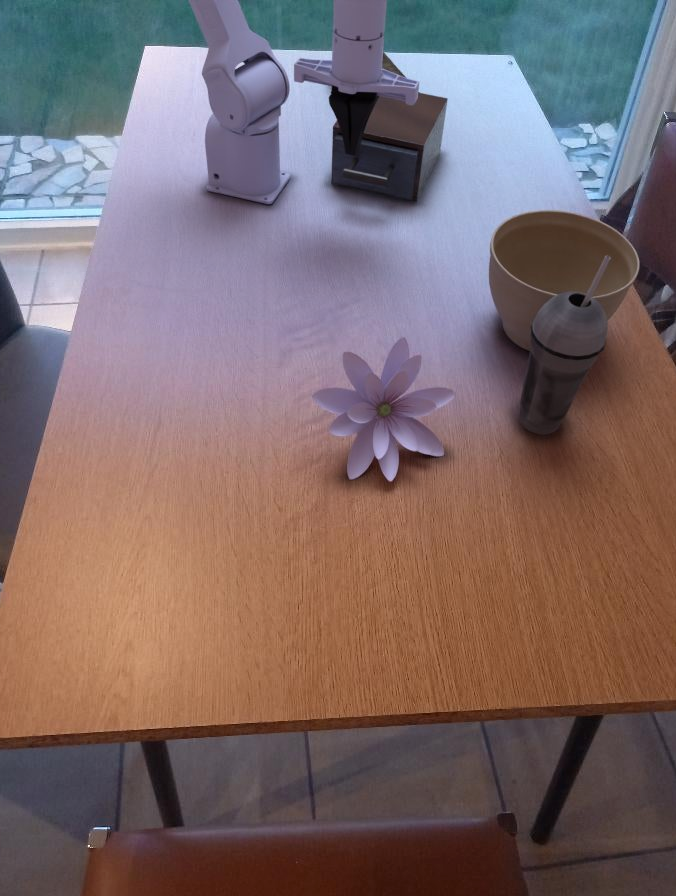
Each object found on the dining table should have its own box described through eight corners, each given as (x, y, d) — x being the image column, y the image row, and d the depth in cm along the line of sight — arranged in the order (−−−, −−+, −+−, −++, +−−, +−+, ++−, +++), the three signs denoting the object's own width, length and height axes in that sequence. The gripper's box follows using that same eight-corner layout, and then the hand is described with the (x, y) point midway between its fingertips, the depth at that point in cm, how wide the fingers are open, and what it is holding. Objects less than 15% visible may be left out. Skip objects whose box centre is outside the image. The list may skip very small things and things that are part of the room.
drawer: (402, 217, 104) (407, 172, 99) (322, 199, 105) (323, 154, 100) (433, 154, 115) (439, 110, 110) (360, 138, 116) (362, 95, 111)
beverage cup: (499, 395, 85) (545, 232, 69) (564, 395, 86) (623, 233, 70) (512, 444, 80) (564, 282, 65) (580, 443, 81) (647, 282, 65)
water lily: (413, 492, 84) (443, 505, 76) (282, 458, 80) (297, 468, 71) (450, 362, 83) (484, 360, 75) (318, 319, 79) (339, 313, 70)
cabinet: (416, 202, 108) (424, 145, 101) (331, 183, 109) (332, 126, 103) (440, 153, 117) (447, 98, 110) (360, 136, 118) (363, 81, 112)
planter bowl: (464, 288, 96) (480, 207, 88) (589, 289, 98) (617, 210, 89) (485, 376, 87) (505, 295, 78) (624, 376, 88) (658, 297, 80)
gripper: (283, 31, 83) (286, 154, 94) (413, 56, 82) (400, 179, 92) (305, 8, 88) (305, 128, 98) (428, 32, 86) (414, 151, 97)
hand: (352, 151), depth 96 cm, fingers closed
